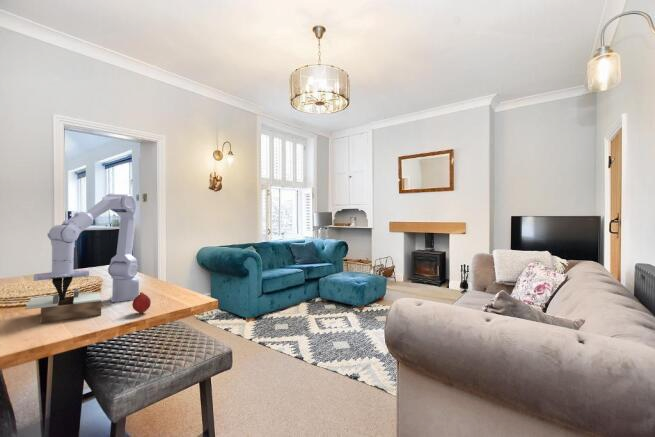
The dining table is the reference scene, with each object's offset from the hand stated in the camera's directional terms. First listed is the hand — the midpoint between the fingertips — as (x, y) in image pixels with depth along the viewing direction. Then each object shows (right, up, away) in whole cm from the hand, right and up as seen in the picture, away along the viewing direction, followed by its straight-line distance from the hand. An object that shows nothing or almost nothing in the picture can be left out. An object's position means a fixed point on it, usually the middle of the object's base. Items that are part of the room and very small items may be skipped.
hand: (62, 299), depth 109 cm
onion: (+23, -7, +8) cm, 25 cm away
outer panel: (-6, -1, -1) cm, 6 cm away
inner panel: (+4, -1, +7) cm, 8 cm away
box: (0, -6, +4) cm, 8 cm away
